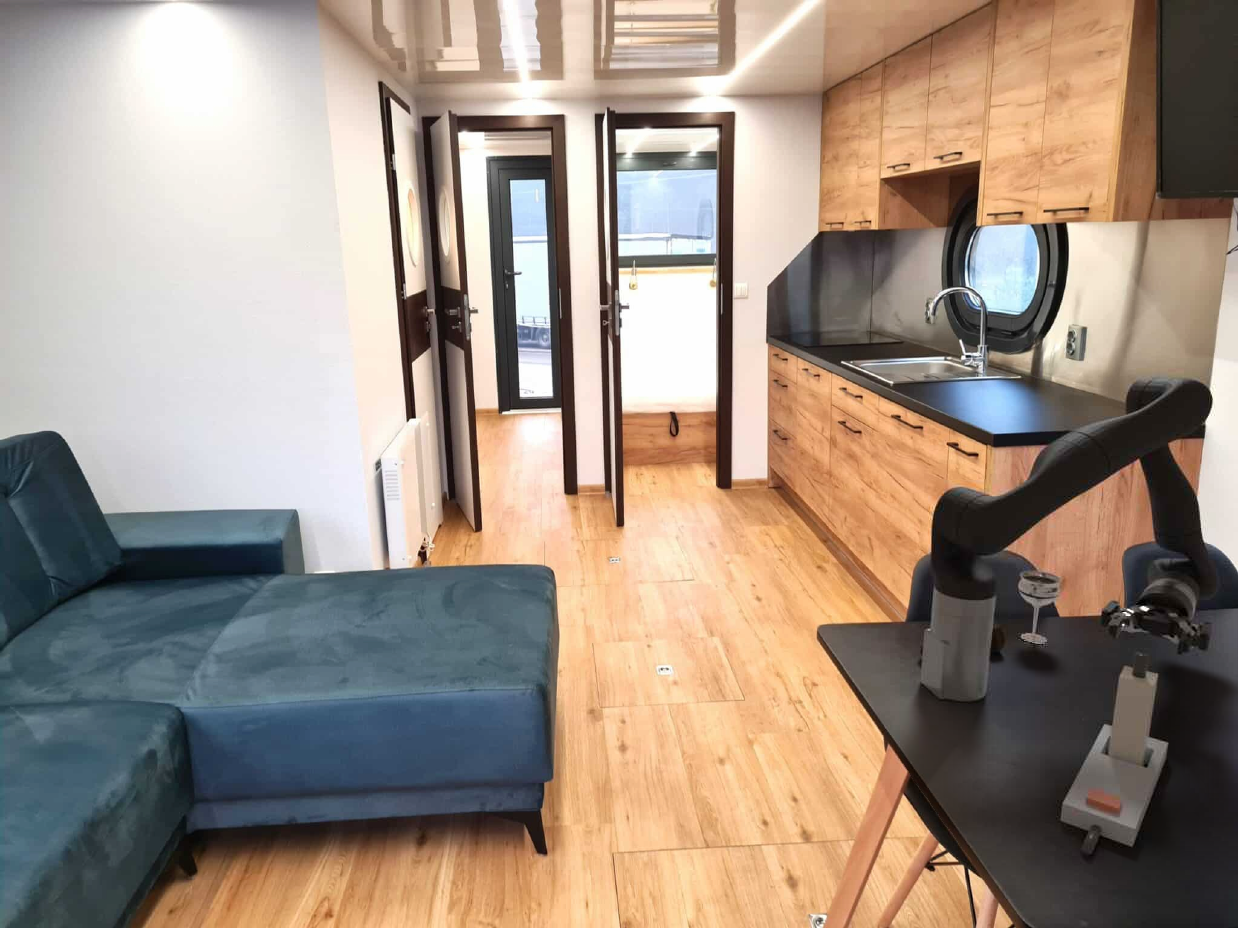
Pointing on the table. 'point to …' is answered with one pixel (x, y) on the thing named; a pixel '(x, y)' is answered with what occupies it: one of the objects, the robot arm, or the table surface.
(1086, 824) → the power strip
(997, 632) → the bolt
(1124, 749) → the plug
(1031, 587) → the wineglass
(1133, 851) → the table surface
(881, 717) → the table surface
